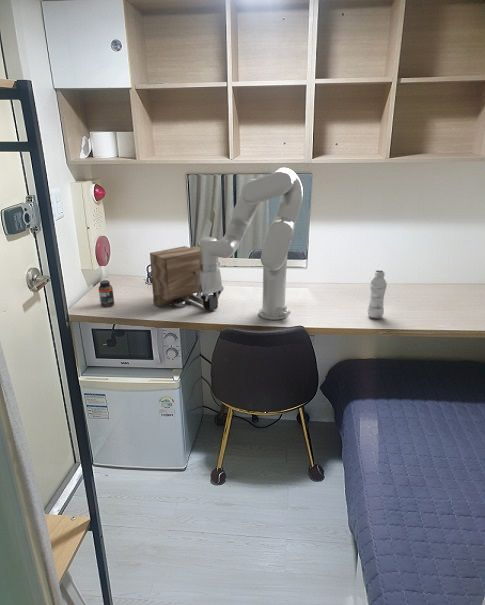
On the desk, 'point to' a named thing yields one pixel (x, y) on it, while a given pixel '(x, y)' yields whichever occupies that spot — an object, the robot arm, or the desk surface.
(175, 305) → the token
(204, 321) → the desk surface
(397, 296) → the desk surface
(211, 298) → the grey hammer
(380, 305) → the plastic bottle
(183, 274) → the cabinet
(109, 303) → the supplement bottle
